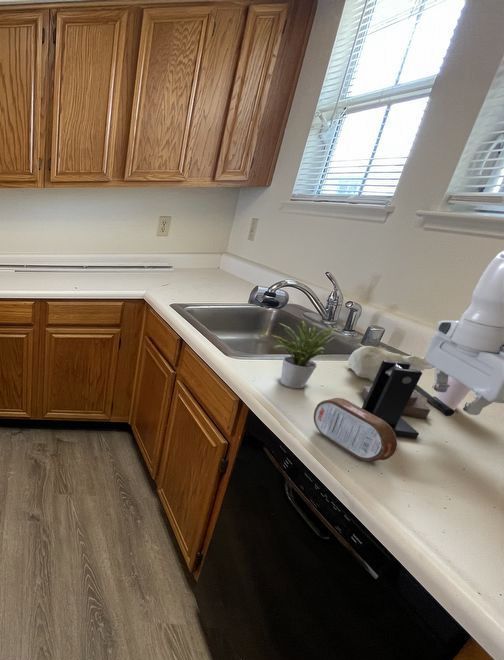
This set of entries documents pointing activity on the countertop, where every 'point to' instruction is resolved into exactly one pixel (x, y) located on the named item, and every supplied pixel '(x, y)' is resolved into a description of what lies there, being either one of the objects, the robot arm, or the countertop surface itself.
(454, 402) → the smoothie
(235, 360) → the countertop surface
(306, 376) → the house plant
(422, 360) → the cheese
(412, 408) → the button block
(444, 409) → the lever
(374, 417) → the tin
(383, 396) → the bracket
